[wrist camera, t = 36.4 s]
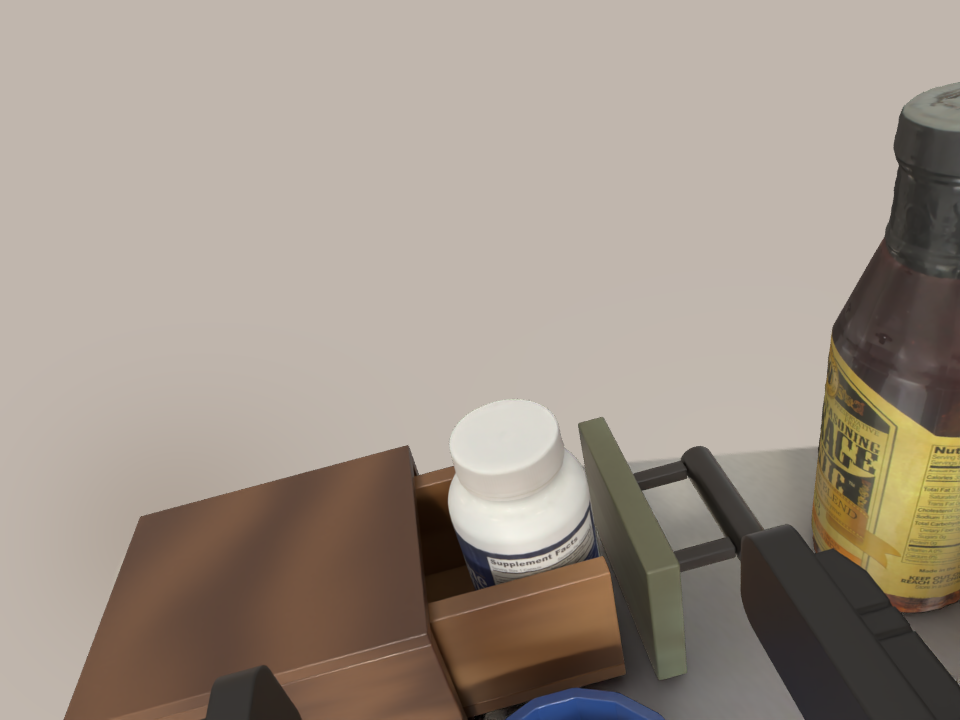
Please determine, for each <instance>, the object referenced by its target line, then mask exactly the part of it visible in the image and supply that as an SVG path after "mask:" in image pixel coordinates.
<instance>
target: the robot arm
mask: <svg viewBox="0 0 960 720" xmlns="http://www.w3.org/2000/svg"><path fill="white" fill-rule="evenodd" d="M741 597H742V602H743V605H744V609H745V612H746V614H747V617H748V619H749V622H750V624H751V626H752V628H753V630H754V632H755V633H756V635H757V637H758V639H759V640H760V642H761V644H762V646H763V647H764V649H765V651H766V653H767V654H768V656H769V658H770V660H771V661H772V663H773V665H774V667H775V668H776V670H777V672H778V674H779V675H780V677H781V679H782V681H783V682H784V684H785V686H786V687H787V689H788V691H789V693H790V694H791V696H792V698H793V700H794V701H795V703H796V705H797V707H798V708H799V710H800V712H801V714H802V715H803V717H804V719H805V720H960V686H959V685H958V684H957V682H956V681H955V680H954V679H953V677H952V676H951V675H950V674H949V672H948V671H947V670H946V669H945V667H944V666H943V665H942V664H941V662H940V661H939V660H938V659H937V657H936V656H935V655H934V654H933V653H932V651H931V650H930V649H929V648H928V646H927V645H926V644H925V643H924V641H923V640H922V639H921V638H920V636H919V635H918V634H917V633H916V631H912V629H911V627H910V624H909V623H908V622H907V620H906V619H905V618H904V617H903V615H902V614H901V613H900V612H899V610H898V609H897V608H896V607H895V606H894V607H893V606H892V604H891V602H890V599H889V598H888V597H887V595H886V594H885V593H884V592H883V590H882V589H881V588H880V587H879V586H878V584H877V583H876V582H875V581H874V579H873V578H872V577H871V576H870V574H869V573H868V572H867V571H866V570H865V569H863V568H862V567H860V566H859V565H857V564H856V563H854V562H853V561H851V560H850V559H848V558H847V557H845V556H844V555H843V554H841V553H840V552H838V551H837V550H835V549H834V548H833V549H829V550H825V551H822V552H818V553H813V552H812V550H811V549H810V548H809V546H808V545H807V544H806V542H805V541H804V540H803V538H802V537H801V535H800V534H799V533H798V532H797V531H796V530H795V529H794V528H793V527H792V526H791V525H788V524H785V525H781V526H777V527H774V528H770V529H766V530H763V531H759V532H755V533H752V534H748V535H744V536H743V537H742V539H741ZM200 720H302V719H301V716H300V714H299V712H298V710H297V708H296V707H295V705H294V704H293V702H292V701H291V700H290V698H289V697H288V695H287V694H286V692H285V691H284V689H283V688H282V686H281V685H280V683H279V682H278V680H277V679H276V677H275V676H274V674H273V673H272V672H271V670H270V669H269V668H268V667H267V666H266V665H261V666H257V667H254V668H250V669H246V670H243V671H239V672H235V673H232V674H228V675H224V676H221V677H219V678H217V679H216V680H215V682H214V684H213V686H212V689H211V693H210V698H209V703H208V708H207V713H206V718H204V719H200Z"/></svg>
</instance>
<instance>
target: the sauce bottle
mask: <svg viewBox="0 0 960 720" xmlns="http://www.w3.org/2000/svg"><path fill="white" fill-rule="evenodd" d="M894 152H895V156H896V160H897V162H898V163H899V168H898V171H897V178H896V181H895V187H894V200H893V205H892V209H891V216H890V220H889V223H888V225H887V227H886V231H885V237H884V239H883V240H882V242H881V243H880V245H879V247H878V249H877V250H876V252H875V253H874V255H873V257H872V259H871V260H870V262H869V264H868V266H867V267H866V269H865V271H864V273H863V275H862V276H861V278H860V280H859V282H858V283H857V285H856V287H855V288H854V290H853V292H852V294H851V295H850V297H849V299H848V301H847V302H846V304H845V306H844V308H843V309H842V311H841V313H840V315H839V316H838V318H837V320H836V322H835V323H834V325H833V329H832V335H831V344H830V352H829V357H828V370H827V380H826V384H825V397H824V403H823V411H822V425H821V434H820V440H819V447H818V462H817V471H816V481H815V490H814V499H813V509H812V530H813V534H814V535H813V542H814V550H815V551H816V553H818V552H822V551H825V550H829V549H833V548H834V549H835V550H837V551H838V552H840V553H841V554H843V555H844V556H845V557H847V558H848V559H850V560H851V561H853V562H854V563H856V564H857V565H859V566H860V567H862V568H863V569H865V570H866V571H867V572H868V573H869V574H870V576H871V577H872V578H873V579H874V581H875V582H876V583H877V584H878V586H879V587H880V588H881V589H882V590H883V592H884V593H885V594H886V595H887V597H888V598H889V599H890V602H891V604H892V606H893V607H894V606H895V607H896V608H897V609H898V610H899V612H906V613H917V612H928V611H930V610H934V609H940V608H944V606H945V605H949V604H952V603H955V602H957V601H958V600H959V599H960V82H958V83H953V84H949V85H945V86H942V87H936V88H933V89H930V90H928V91H926V92H923V93H921V94H919V95H917V96H916V97H914V98H913V99H912V100H910V101H909V102H908V103H907V104H906V105H905V106H904V107H903V109H902V111H901V114H900V116H899V123H898V128H897V132H896V135H895V140H894Z"/></svg>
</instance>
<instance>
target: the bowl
mask: <svg viewBox="0 0 960 720" xmlns="http://www.w3.org/2000/svg"><path fill="white" fill-rule="evenodd" d="M505 720H665V719H664V718H663V717H662V716H661V715H660V714H659V713H657V712H655V711H653V710H651V709H649V708H648V707H646V706H644V705H642V704H640V703H638V702H636V701H634V700H632V699H630V698H628V697H626V696H624V695H623V694H621V693H618V692H612V691H603V690H594V689H585V688H576V687H575V688H570V689H566V690H563V691H559V692H555V693H552V694H548V695H544V696H541V697H537V698H534V699H532V700H530V701H529V702H528V703H526V704H525V705H524V706H522V707H521V708H520V709H518V710H517V711H516V712H514V713H513V714H512V715H510V716H509V717H508V718H506V719H505Z"/></svg>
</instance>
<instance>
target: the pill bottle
mask: <svg viewBox="0 0 960 720" xmlns="http://www.w3.org/2000/svg"><path fill="white" fill-rule="evenodd" d="M449 446H450V453H451V457H452V461H453V464H454V468H455V472H456V473H455V475H454V477H453V479H452V482H451V485H450V488H449V494H448V507H449V513H450V516H451V520H452V524H453V527H454V530H455V532H456V535H457V539H458V541H459V544H460V547H461V550H462V553H463V556H464V559H465V562H466V564H467V568H468V571H469V573H470V577H471V580H472V583H473V586H474V588H475V590H479V589H483V588H486V587H490V586H494V585H497V584H501V583H505V582H509V581H512V580H516V579H520V578H523V577H527V576H531V575H534V574H538V573H542V572H545V571H549V570H553V569H556V568H560V567H564V566H567V565H571V564H575V563H578V562H582V561H586V560H590V559H593V558H597V557H600V554H599V548H598V542H597V536H596V530H595V524H594V518H593V512H592V505H591V499H590V492H589V486H588V482H587V477H586V474H585V472H584V469H583V467H582V465H581V464H580V462H579V461H578V459H577V458H576V457H575V456H574V455H573V454H572V453H571V452H570V451H568V450H567V449H565V448H564V444H563V441H562V438H561V434H560V429H559V425H558V422H557V420H556V418H555V416H554V415H553V413H552V412H551V411H550V410H549V409H547V408H546V407H544V406H543V405H541V404H538V403H536V402H532V401H528V400H520V399H509V400H501V401H496V402H492V403H489V404H486V405H484V406H481V407H479V408H477V409H475V410H473V411H472V412H470V413H468V414H467V415H466V416H465V417H463V418H462V420H461V421H459V423H458V424H457V425H456V426H455V428H454V430H453V432H452V434H451V437H450V441H449Z"/></svg>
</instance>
